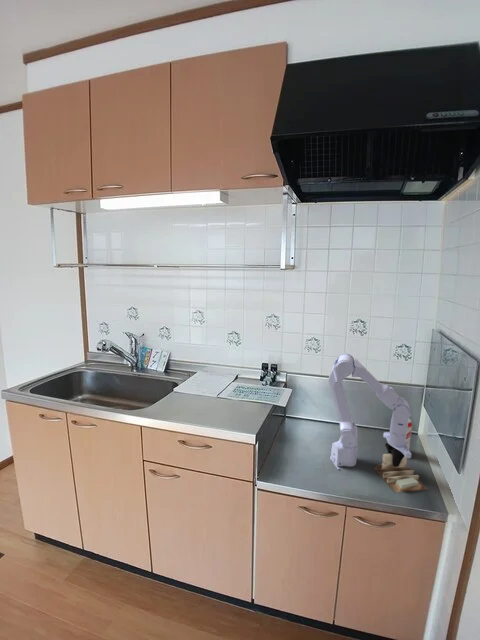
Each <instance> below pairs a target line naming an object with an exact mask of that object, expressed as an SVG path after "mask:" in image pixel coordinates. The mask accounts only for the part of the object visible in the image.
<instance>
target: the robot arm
mask: <svg viewBox="0 0 480 640" xmlns="http://www.w3.org/2000/svg"><path fill="white" fill-rule="evenodd" d="M328 375H329V376H328V379H327V380H328V384H329V388H330V391H331V395H332V399H333V402H334V406H335V410H336V414H337V417H338V421H339V430H340V437H339V439H338V441H335V442H332V444H331V450H330V451H331V452H330V457H329V459H330V461H331V462H332V463H333V465H334V466H335V468H336V470H339V471H340V470H341V468H340V467H354V466H356V465H357V458H358V450H359V449H358V448H359V442H358V433H359V428H358V426H357V425H356V424H355V422H354V419H353V417H352V414H351V411H350V407H349V403H348V399H347V396H346V392H345V388H344V385H343V382H344V380H345V379H346V378H347V377H350V376H351V377H352V378H360V379H361V380H362V381H363V382H364V383H366V385H368V386H369V387H370V388H371V389H373V390H374V391H375V396H376V397H377V398H378V399H379V400H380V401H381V402H382V404H384V405H385V406H386V407H387V408H388V409H390V410H391V411H392V415H391V418H390V425H389V426H390V427H389V431H385V432H383V438H384V439H386V441H387V442H386V443H385V444H384V446H385V448H386V450H387V454H390V453H392V457H393V461H392V463H393V466H394V467H397V466H399V464H400V462H401V460H402V459H403V458H404V457H405V458H407V459H411V458H412V452H411V451H410V448H409V449H408V447H407V445H408V442H406V436H407V428H408V419H410V417H411V416H412V413H411V408H410V405H409V403H408V402H409V401H407V400H406V399H405V398H404V397H403V396H399V395H398V394H397V393H396V392H395V391H394V390H395V389H394V388H393V387H392V386H388V385H387V384H382V383H380V381H379V380H378V379H377V378H376V377H375V376H374V375H373V374H372V373H371V372H370V371H369V370H368V369H367V368H365V366H364V365H363V364H362V363H361V362H360V361H359V360H358V359H356V358H355V359H354V357H353V355H351V354H350V353H341V354H340V355H339V356H338V357H337V358H336V359H335V361H334V364H333V366H332V368H331V371H330V374H328Z"/></svg>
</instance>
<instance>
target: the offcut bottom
mask: <svg viewBox="0 0 480 640" xmlns="http://www.w3.org/2000/svg"><path fill="white" fill-rule="evenodd" d="M395 485H396V487H397V488H398V489H399V490H400V491H405V490H417V489H421V485H420V484H419V483H418V485H416V486H411V487H406V488H401V487H400V486H399V485H397V484H396V482H395Z"/></svg>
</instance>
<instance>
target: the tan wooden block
mask: <svg viewBox="0 0 480 640" xmlns="http://www.w3.org/2000/svg"><path fill="white" fill-rule="evenodd" d="M381 461H382V462H381V464H382V467H381V469H390V468H404V467H407V461H408V458H405V457H404V458H403V459H402V460H401V462H400V464H399V466H397V467H394V466H393V463H392V461H393V457H392V453H390V454H388V453H383V454H382V460H381Z"/></svg>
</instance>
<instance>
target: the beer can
mask: <svg viewBox="0 0 480 640" xmlns="http://www.w3.org/2000/svg"><path fill="white" fill-rule="evenodd" d="M412 428H413V424H412V419H410V418H409V419H408V428H407V436H406V442H408V445H407V447H408V449H409V450H410V444H411V437H412V430H413V429H412Z"/></svg>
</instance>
